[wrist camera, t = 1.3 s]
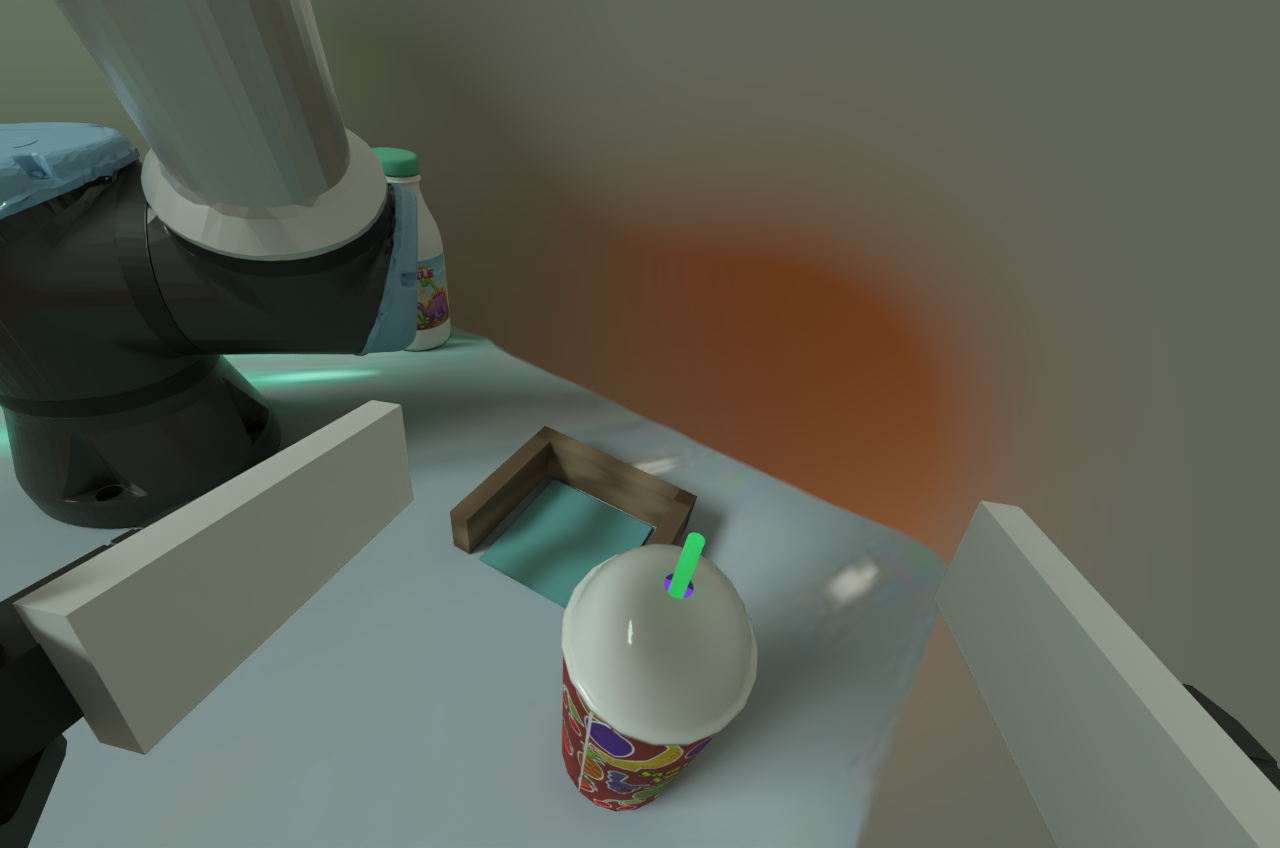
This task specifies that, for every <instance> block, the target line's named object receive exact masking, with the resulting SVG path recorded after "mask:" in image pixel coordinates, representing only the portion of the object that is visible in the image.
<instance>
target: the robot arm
mask: <svg viewBox="0 0 1280 848" xmlns="http://www.w3.org/2000/svg"><path fill="white" fill-rule="evenodd" d="M53 1H54V2H55V4H56V5H57V7H58V8H59V10H60V11H61V13H62V14H63V16H64V17H65V19H66V20H67V22H68V23H69V25H70V26H71V28H72V30H73V31H74V33H75V34H76V35H77V37H78V38H79V40H80V41H81V43H82V45H83V46H84V48H85V49H86V51H87V52H88V53H89V55H90V56H91V58H92V60H93V61H94V62H95V64H96V65H97V67H98V69H99V70H100V72H101V73H102V75H103V76H104V78H105V79H106V80H107V82H108V84H109V85H110V87H111V88H112V90H113V91H114V93H115V94H116V96H117V97H118V99H119V100H120V102H121V103H122V105H123V106H124V108H125V109H126V111H127V112H128V114H129V115H130V117H131V118H132V120H133V121H134V123H135V124H136V126H137V127H138V129H139V130H140V132H141V133H142V135H143V136H144V138H145V139H146V141H147V142H148V144H149V145H150V147H151V149H150V151H149V152H148V154H147V156H146V158H145V160H144V163H141V162H140V161H139V157H140V154H139V151H138V149H137V148H136V147H134V146H133V145H132V143H131V142H130V141H129V140H128V138H127V137H126V136H125V135H124V134H122V133H121V132H120V131H118V130H116V129H113V128H110V127H108V128H104V127H102V126H100V125H95V124H86V123H65V122H61V123H60V122H56V123H55V122H53V123H51V122H50V123H49V122H47V123H46V122H45V123H16V124H0V406H1V407H2V409H3V411H4V415H5V420H6V426H7V431H8V436H9V442H10V447H11V452H12V458H13V463H14V468H15V474H16V477H17V480H18V482H19V484H20V485H21V487H22V489H23V490H24V491H25V492H26V494H27V495H28V496H29V497H30V498H31V499H32V500H33V501H34V503H35V504H36V505H37V506H38V507H39V508H40V509H41V510H42V511H43V512H44V513H45V514H47V515H48V516H50V517H52V518H54V519H56V520H58V521H61V522H64V523H67V524H71V525H76V526H82V527H91V528H119V527H129V526H137V525H139V527H138V529H137V530H134V529H131V530H130V531H128V532H126V533H124V534H122V535H121V536H119V537H117V538H115V539H113V540H112V541H111V543H110V545H108V546H106V545H103V546H101V547H99V548H97V549H95V550H94V551H92V552H90V553H88V554H86V555H85V556H83V557H81V558H79V559H77V560H76V561H74V562H72V563H70V564H68V565H67V566H65V567H63V568H61V569H59V570H58V571H56V572H54V573H52V574H50V575H49V576H47V577H45V578H43V579H41V580H40V581H38V582H36V583H34V584H32V585H30V586H29V587H27V588H25V589H23V590H21V591H20V592H18V593H16V594H14V595H12V596H11V597H9V598H7V599H5V600H3V601H2V602H0V848H28V845H29V843H30V840H31V838H32V835H33V833H34V830H35V828H36V826H37V823H38V821H39V818H40V816H41V813H42V811H43V809H44V806H45V804H46V801H47V799H48V796H49V794H50V792H51V789H52V787H53V784H54V782H55V779H56V777H57V774H58V772H59V770H60V767H61V765H62V762H63V760H64V757H65V755H66V746H67V740H66V739H65V738H64V736H63V735H62V733H63V732H64V731H65V730H67V729H68V728H69V727H70V726H72V725H73V724H74V723H75V722H77V721H78V720H79V719H80V718H82V717H83V716H84V718H85V720H86V721H87V723H88V724H89V726H90V727H91V729H92V731H93V732H94V734H95V735H96V737H97V739H98V740H99V742H100V743H104V744H108V745H111V746H115V747H119V748H122V749H126V750H130V751H133V752H137V753H141V754H144V755H145V754H146V753H148V752H149V751H150V750H151V749H152V748H153V747H154V746H155V745H156V744H157V743H158V742H159V741H160V740H161V739H162V738H163V737H164V736H165V735H166V734H168V733H169V732H170V731H171V730H172V729H173V728H174V727H175V726H176V725H177V724H178V723H179V722H180V721H181V720H182V719H183V718H184V717H185V716H186V715H188V714H189V713H190V712H191V711H192V710H193V709H194V708H195V707H196V706H197V705H198V704H199V703H200V702H201V701H202V700H203V699H204V698H205V697H207V696H208V695H209V694H210V693H211V692H212V691H213V690H214V689H215V688H216V687H217V686H218V685H219V684H220V683H221V682H222V681H223V680H224V679H225V678H227V677H228V676H229V675H230V674H231V673H232V672H233V671H234V670H235V669H236V668H237V667H238V666H239V665H240V664H241V663H242V662H243V661H244V660H245V659H247V658H248V657H249V656H250V655H251V654H252V653H253V652H254V651H255V650H256V649H257V648H258V647H259V646H260V645H261V644H262V643H263V642H264V641H265V640H267V639H268V638H269V637H270V636H271V635H272V634H273V633H274V632H275V631H276V630H277V629H278V628H279V627H280V626H281V625H282V624H283V623H284V622H285V621H287V620H288V619H289V618H290V617H291V616H292V615H293V614H294V613H295V612H296V611H297V610H298V609H299V608H300V607H301V606H302V605H303V604H304V603H305V602H307V601H308V600H309V599H310V598H311V597H312V596H313V595H314V594H315V593H316V592H317V591H318V590H319V589H320V588H321V587H322V586H323V585H324V584H325V583H327V582H328V581H329V580H330V579H331V578H332V577H333V576H334V575H335V574H336V573H337V572H338V571H339V570H340V569H341V568H342V567H343V566H344V565H345V564H347V563H348V562H349V561H350V560H351V559H352V558H353V557H354V556H355V555H356V554H357V553H358V552H359V551H360V550H361V549H362V548H363V547H364V546H365V545H367V544H368V543H369V542H370V541H371V540H372V539H373V538H374V537H375V536H376V535H377V534H378V533H379V532H380V531H381V530H382V529H383V528H384V527H385V526H387V525H388V524H389V523H390V522H391V521H392V520H393V519H394V518H395V517H396V516H397V515H398V514H399V513H400V512H401V511H402V510H403V509H404V508H405V507H407V506H408V505H409V504H410V503H411V502H412V501H413V500H414V499H413V491H412V483H411V476H410V468H409V461H408V453H407V445H406V438H405V430H404V423H403V415H402V407H401V405H400V404H394V403H387V402H381V401H375V400H371V401H369V402H367V403H366V404H364V405H362V406H360V407H359V408H357V409H355V410H353V411H351V412H350V413H348V414H346V415H344V416H343V417H341V418H339V419H337V420H336V421H334V422H332V423H330V424H329V425H327V426H325V427H323V428H321V429H320V430H318V431H316V432H314V433H313V434H311V435H309V436H307V437H306V438H304V439H302V440H300V441H298V442H297V443H295V444H293V445H291V446H290V447H288V448H286V449H284V450H283V451H281V452H279V453H277V454H275V453H276V451H277V449H278V446H279V443H280V429H279V426H278V423H277V420H276V418H275V415H274V413H273V410H272V408H271V406H270V405H269V403H268V402H267V400H266V399H265V398H264V397H263V396H262V395H261V394H260V393H259V392H258V391H257V390H256V389H255V388H254V387H253V386H252V385H251V384H250V383H249V382H248V381H247V380H246V379H245V378H244V377H243V376H242V375H241V374H240V373H239V372H238V371H237V370H236V369H235V368H234V367H233V366H232V365H231V364H230V363H229V362H228V361H227V359H226V358H225V357H224V356H223V355H227V354H354V355H356V356H364V355H367V354H368V353H378V352H395V351H401V350H404V349H406V348H407V347H409V346H410V345H411V344H412V343H413V341H414V340H415V337H416V333H417V276H418V271H417V264H418V213H417V198H416V195H415V193H414V192H413V191H412V190H410V189H409V188H406V187H402V186H400V185H398V184H397V183H391V182H389V183H387V179H386V176H385V173H384V170H383V167H382V165H381V162H380V160H379V159H378V157H377V156H376V154H375V153H374V151H373V150H372V149H371V148H370V147H369V146H368V145H367V144H366V143H365V142H364V141H363V140H362V139H360V138H359V137H358V136H357V135H355V134H354V133H352V132H351V131H349V130H348V129H346V128H344V125H343V121H342V117H341V113H340V110H339V106H338V103H337V99H336V95H335V92H334V88H333V84H332V80H331V77H330V73H329V70H328V66H327V62H326V58H325V55H324V51H323V48H322V44H321V40H320V37H319V33H318V29H317V25H316V22H315V18H314V15H313V11H312V7H311V4H310V0H53ZM934 599H935V601H936V603H937V605H938V607H939V609H940V611H941V613H942V615H943V617H944V619H945V621H946V623H947V625H948V627H949V629H950V631H951V633H952V635H953V637H954V639H955V641H956V643H957V645H958V647H959V649H960V651H961V653H962V655H963V657H964V659H965V661H966V663H967V666H968V668H969V669H970V672H971V674H972V675H973V678H974V680H975V682H976V684H977V686H978V688H979V690H980V692H981V694H982V696H983V698H984V700H985V702H986V704H987V706H988V708H989V710H990V712H991V714H992V716H993V718H994V720H995V722H996V724H997V726H998V728H999V730H1000V732H1001V734H1002V736H1003V738H1004V740H1005V742H1006V744H1007V746H1008V748H1009V750H1010V753H1011V755H1012V756H1013V758H1014V761H1015V762H1016V765H1017V767H1018V769H1019V771H1020V773H1021V775H1022V777H1023V779H1024V781H1025V783H1026V785H1027V787H1028V789H1029V791H1030V793H1031V795H1032V797H1033V799H1034V801H1035V803H1036V805H1037V807H1038V809H1039V811H1040V813H1041V815H1042V817H1043V819H1044V821H1045V823H1046V825H1047V827H1048V829H1049V831H1050V833H1051V836H1052V838H1053V840H1054V841H1055V844H1056V846H1057V848H1280V769H1278V767H1277V762H1276V761H1275V759H1274V758H1273V757H1272V756H1271V755H1270V754H1269V753H1268V752H1267V751H1266V750H1265V749H1264V748H1263V747H1262V746H1261V745H1260V744H1259V743H1258V742H1257V740H1256V739H1254V737H1253V736H1252V735H1251V734H1250V733H1249V732H1248V731H1247V730H1246V729H1245V728H1244V727H1243V726H1242V725H1241V724H1240V723H1239V722H1238V721H1237V720H1236V719H1234V718H1233V717H1232V716H1230V715H1229V714H1228V713H1226V712H1225V711H1224V710H1223V709H1221V708H1220V707H1219V706H1217V705H1216V704H1215V703H1214V702H1212V701H1211V700H1210V699H1208V698H1207V697H1206V696H1204V695H1203V694H1202V693H1200V692H1199V691H1198V690H1197V689H1195V688H1194V687H1193V686H1190V685H1186V684H1181V683H1180V682H1179V681H1178V680H1177V679H1176V678H1175V677H1174V675H1173V674H1172V673H1171V672H1170V671H1169V670H1168V669H1167V668H1166V667H1165V666H1164V664H1163V663H1161V661H1160V660H1159V659H1158V658H1157V657H1156V656H1155V655H1154V653H1153V652H1152V651H1151V650H1150V649H1149V648H1148V647H1147V646H1146V645H1145V644H1144V643H1143V641H1142V640H1141V639H1140V638H1139V637H1138V636H1137V635H1136V634H1135V633H1134V632H1133V630H1132V629H1131V628H1130V627H1129V626H1128V625H1127V624H1126V623H1125V622H1124V621H1123V620H1122V618H1121V617H1120V616H1119V615H1118V614H1117V613H1116V612H1115V611H1114V610H1113V609H1112V608H1111V606H1110V605H1109V604H1108V603H1107V602H1106V601H1105V600H1104V599H1103V598H1102V597H1101V595H1100V594H1099V593H1098V592H1097V591H1096V590H1095V589H1094V588H1093V587H1092V586H1091V584H1090V583H1089V582H1088V581H1087V580H1086V579H1085V578H1084V577H1083V576H1082V575H1081V573H1080V572H1079V571H1078V570H1077V569H1076V568H1075V567H1074V566H1073V565H1072V564H1071V563H1070V561H1069V560H1068V559H1067V558H1066V557H1065V556H1064V555H1063V554H1062V553H1061V552H1060V550H1059V549H1058V548H1057V547H1056V546H1055V545H1054V544H1053V543H1052V542H1051V541H1050V540H1049V538H1048V537H1047V536H1046V535H1045V534H1044V533H1043V532H1042V531H1041V530H1040V529H1039V527H1037V525H1036V524H1035V523H1034V522H1033V521H1032V520H1031V519H1030V518H1029V517H1028V515H1027V514H1026V513H1025V512H1024V511H1023V510H1022V509H1021V508H1020V507H1018V506H1012V505H1006V504H1000V503H993V502H987V501H981V500H980V502H979V505H978V507H977V509H976V511H975V513H974V515H973V517H972V519H971V522H970V524H969V526H968V528H967V530H966V532H965V534H964V536H963V538H962V541H961V543H960V545H959V547H958V549H957V551H956V553H955V555H954V557H953V559H952V561H951V563H950V566H949V568H948V570H947V572H946V574H945V576H944V578H943V580H942V582H941V584H940V587H939V589H938V591H937V593H936V595H935V597H934Z"/></svg>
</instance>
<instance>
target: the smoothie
mask: <svg viewBox="0 0 1280 848" xmlns="http://www.w3.org/2000/svg"><path fill="white" fill-rule="evenodd" d="M704 544H705V539H704V537H703V536H702V535H701V534H699V533H695V532H693V533H690V534H689V535H688V537H687V539H686V542H685V545H684V547H680V546H677V545H671V544H649V545H645V546H640V547H636V548H632V549H628V550H626V551H624V552H623V553H621V554H618V555H614V556H613V557H611V558H609V559H607V560H606V561H604V562H602V563H600V564H599V565H597V566H595V567H594V568H592V569H591V570H590V571H589V572H588V573H587V575H586V576H585V577H584V578H583V579H582V580H581V581H580V582H579V584H578V585H577V586H576V587H575V588H574V590H573V592H572V595H571V597H570V599H569V602H568V604H567V607H566V609H565V611H564V614H563V623H562V641H561V647H562V652H563V730H562V753H563V757H564V761H565V764H566V768H567V772H568V774H569V776H570V777H571V779H572V780H573V782H574V784H575V785H576V787H577V788H578V790H579V792H581V793H582V794H583V795H584V796H586V797H587V798H588V799H589V800H591V801H592V802H593V803H594V804H596V805H598V806H601V807H604V808H607V809H610V810H614V811H623V810H635V809H637V808H639V807H641V806H643V805H645V804H647V803H649V802H651V801H653V800H654V799H655V798H656V797H657V796H658V795H659V794H660V793H661V792H662V791H663V790H664V789H665V788H666V786H667V785H668V784H669V783H670V782H671V781H672V780H673V779H674V778H675V777H676V776H677V775H678V774H679V773H680V772H681V771H682V770H683V769H684V768H685V766H686V765H687V764H688V763H689V762H690V761H691V760H692V759H693V758H694V757H695V756H696V755H697V754H698V753H699V752H700V751H701V750H702V749H703V748H704V746H705V745H706V744H707V743H708V742H709V741H710V740H711V739H712V738H713V737H714V736H715V735H716V734H717V733H718V732H720V731H721V730H723V729H724V728H725V727H726V726H727V725H728V724H729V723H730V722H731V721H732V720H733V719H734V718H735V717H736V716H737V715H738V714H739V713H740V712H741V711H742V710H743V709H744V707H745V705H746V702H747V700H748V698H749V695H750V693H751V691H752V688H753V686H754V684H755V681H756V675H757V660H758V646H757V642H756V638H755V634H754V631H753V627H752V623H751V619H750V617H749V616H748V614H747V612H746V610H745V606H744V603H743V601H742V599H741V598H740V596H739V594H738V592H737V591H736V589H735V587H734V585H733V584H732V582H731V581H730V579H729V578H728V577H727V576H726V575H725V574H724V573H723V572H722V571H721V570H720V569H719V568H718V567H717V566H716V565H715V564H714V563H713V562H712V561H710V560H708V559H707V558H705V557H704V556H702V555H700V554H701V551H702V549H703V546H704Z"/></svg>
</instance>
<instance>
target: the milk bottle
mask: <svg viewBox="0 0 1280 848" xmlns="http://www.w3.org/2000/svg"><path fill="white" fill-rule="evenodd" d="M372 150H373V151H374V153H375V154H376V156H377V157H378V159H379V160H380V162H381V165H382V167H383V170H384V173H385V176H386V179H387V183H389V182H391V183H397V184H398V185H400V186H402V187H406V188H409V189H410V190H412V191H413V192H414V193H415V195H416V198H417V213H418V264H417V271H418V276H417V333H416V337H415V340H414V341H413V343H412V344H411V345H410V346H409V347H407V348H406V349H404V350H415V351H418V350H426V349H431V348H435V347H437V346H440V345H441V344H443V343H445V341H447V339H448V337H449V335H450V317H449V305H448V294H447V283H446V273H445V262H444V254H443V247H442V241H441V237H440V233H439V230H438V227H437V225H436V223H435V221H434V219H433V217H432V215H431V213H430V212H429V210H428V208H427V206H426V204H425V202H424V200H423V197H422V195H421V192H420V189H419V183H418V182H419V180H420V178H421V177H420V175H419V171H420V168H419V160H418V157H417V155H416V154H414V153H412V152H409V151H406V150H402V149H396V148H374V149H372Z"/></svg>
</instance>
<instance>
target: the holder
mask: <svg viewBox="0 0 1280 848" xmlns="http://www.w3.org/2000/svg"><path fill="white" fill-rule="evenodd" d="M547 474H549V475H552V476H554V477H556V478H558V479H560V480H562V481H564V482H566V483H568V484H570V485H572V486H574V487H576V488H578V489H580V490H582V491H584V492H586V493H588V494H590V495H592V496H594V497H596V498H598V499H600V500H602V501H605V502H607V503H609V504H611V505H613V506H615V507H617V508H619V509H621V510H623V511H625V512H627V513H629V514H631V515H633V516H635V517H637V518H639V519H641V520H643V521H645V522H647V523H649V524H651V525H653V526H655V527H657V529H656V530H655V532H654V534H653V535H652V537H651V539H650V540H649V542H648V544H647V545H649V544H671V545H677V543H678V541H679V540H680V538H681V536H682V534H683V532H684V530H685V528H686V526H687V524H688V521H689V518H690V515H691V512H692V509H693V506H694V504H695V501H696V498H697V496H695V495H693V494H691V493H689V492H687V491H685V490H682V489H680V488H678V487H676V486H674V485H672V484H669V483H667V482H665V481H663V480H661V479H659V478H656V477H654V476H652V475H650V474H648V473H646V472H643V471H641V470H639V469H637V468H635V467H633V466H631V465H628V464H626V463H624V462H622V461H620V460H618V459H615V458H613V457H611V456H609V455H607V454H605V453H602V452H600V451H598V450H596V449H594V448H592V447H589V446H587V445H585V444H583V443H581V442H579V441H577V440H574V439H572V438H570V437H568V436H566V435H564V434H561V433H559V432H557V431H555V430H553V429H551V428H548V427H546V426H544V427H543V428H542V429H541V430H540V431H539V432H538V433H537V434H536V435H534V436H533V437H532V438H531V439H530V440H529V441H528V442H527V443H526V444H525V445H523V446H522V447H521V448H520V449H519V450H518V451H517V452H516V453H515V454H513V455H512V456H511V457H510V458H509V459H508V460H507V461H506V462H505V463H503V464H502V465H501V466H500V467H499V468H498V469H497V470H496V471H495V472H493V473H492V474H491V475H490V476H489V477H488V478H487V479H486V480H485V481H483V482H482V483H481V484H480V485H479V486H478V487H477V488H476V489H475V490H473V491H472V492H471V493H470V494H469V495H468V496H467V497H466V498H465V499H463V500H462V501H461V502H460V503H459V504H458V505H457V506H456V507H455V508H453V509H452V510H451V511H450V515H451V524H452V532H453V540H454V546H456V547H458V548H460V549H461V550H463V551H465V552H467V553H469V554H470V553H471V552H472V551H473V550H474V549H475V548H476V547H477V546H478V545H479V544H480V543H481V542H482V541H483V540H484V539H485V538H486V537H487V536H488V535H489V534H490V533H491V532H492V531H493V530H494V528H495V527H496V526H497V525H498V524H499V523H500V522H501V521H502V520H503V519H504V518H505V517H506V516H507V515H508V514H509V513H510V512H511V511H512V510H513V509H514V508H515V507H516V506H517V505H518V504H519V503H520V502H521V501H522V500H523V499H524V497H525V496H526V495H527V494H528V493H529V492H530V491H531V490H532V489H533V488H534V487H535V486H536V485H537V484H538V483H539V482H540V481H541V480H542V479H543V478H544V477H545V476H546V475H547ZM651 530H652V527H650V526H648V525H646V524H644V523H642V522H640V521H638V520H636V519H634V518H632V517H630V516H628V515H626V514H624V513H622V512H620V511H618V510H616V509H614V508H612V507H610V506H608V505H606V504H604V503H602V502H600V501H598V500H595V499H593V498H591V497H589V496H587V495H585V494H583V493H581V492H579V491H577V490H575V489H573V488H571V487H569V486H567V485H565V484H563V483H561V482H559V481H557V480H555V479H553V481H552V482H551V483H550V484H549V485H548V486H547V487H546V488H545V489H544V490H543V491H542V492H541V493H540V494H539V495H538V497H537V498H536V499H535V500H534V501H533V502H532V503H531V504H530V505H529V506H528V507H527V508H526V509H525V510H524V511H523V513H522V514H521V515H520V516H519V517H518V518H517V519H516V520H515V521H514V522H513V523H512V524H511V525H510V526H509V527H508V528H507V530H506V531H505V532H504V533H503V534H502V535H501V536H500V537H499V538H498V539H497V540H496V541H495V542H494V543H493V544H492V546H491V547H490V548H489V549H488V550H487V551H486V552H485V553H484V554H483V555H482V556H481V557H480V560H481V561H483V562H484V563H486V564H488V565H490V566H492V567H493V568H495V569H497V570H499V571H500V572H502V573H504V574H506V575H507V576H509V577H511V578H513V579H515V580H516V581H518V582H520V583H522V584H523V585H525V586H527V587H529V588H531V589H532V590H534V591H536V592H538V593H539V594H541V595H543V596H545V597H546V598H548V599H550V600H552V601H554V602H555V603H557V604H559V605H561V606H562V607H564V608H566V607H567V604H568V602H569V599H570V597H571V595H572V592H573V590H574V588H575V587H576V586H577V585H578V584H579V582H580V581H581V580H582V579H583V578H584V577H585V576H586V575H587V573H588V572H589V571H590V570H591V569H592V568H594V567H595V566H597V565H599V564H600V563H602V562H604V561H606V560H607V559H609V558H611V557H613V556H614V555H618V554H621V553H623V552H624V551H626V550H628V549H632V548H636V547H640V546H642V545H643V543H644V541H645V540H646V538H647V536H648V535H649V533H650V531H651Z"/></svg>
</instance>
